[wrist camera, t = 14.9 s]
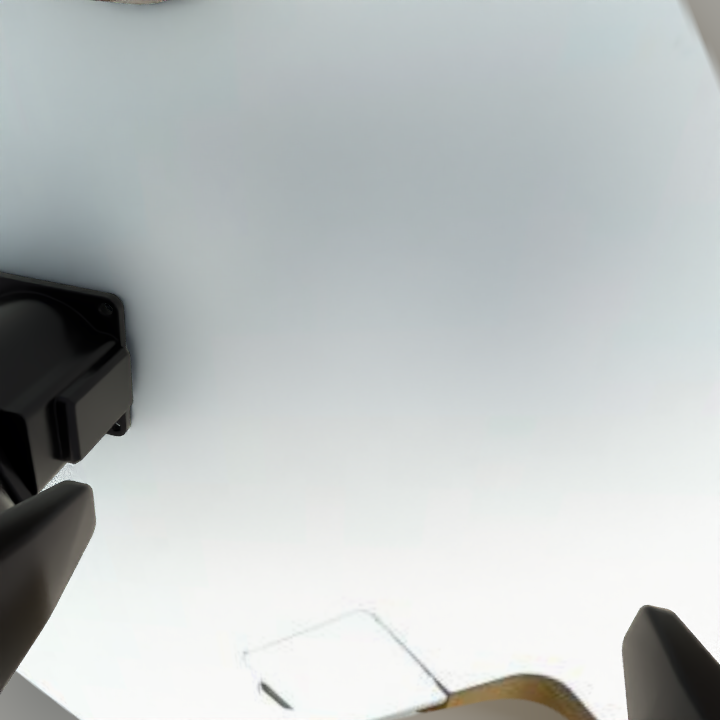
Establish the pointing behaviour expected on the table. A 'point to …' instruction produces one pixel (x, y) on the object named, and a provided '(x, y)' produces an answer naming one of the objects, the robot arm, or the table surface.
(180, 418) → the table surface
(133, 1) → the walnut stand
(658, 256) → the table surface
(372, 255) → the table surface
